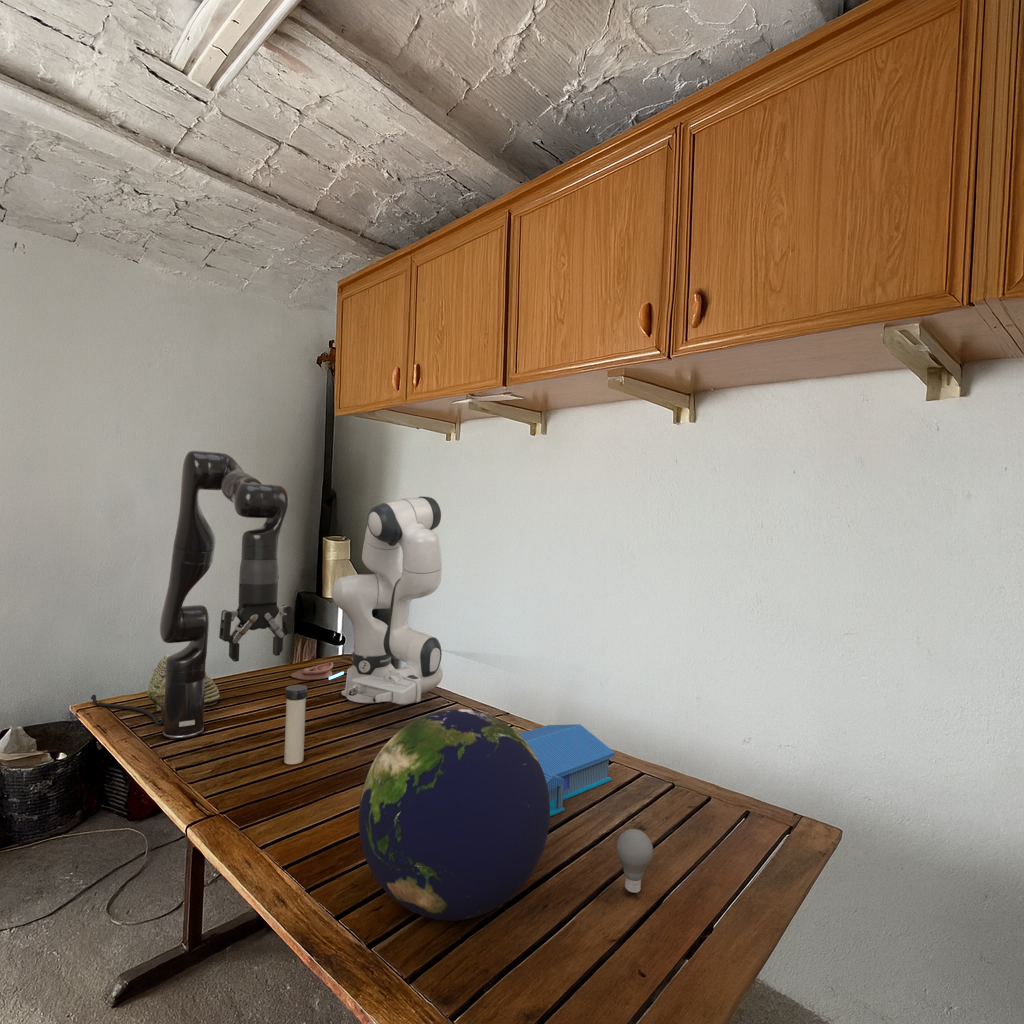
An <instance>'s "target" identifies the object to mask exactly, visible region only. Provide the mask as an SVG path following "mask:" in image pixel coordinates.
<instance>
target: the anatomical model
mask: <svg viewBox="0 0 1024 1024" xmlns="http://www.w3.org/2000/svg"><path fill="white" fill-rule="evenodd" d="M333 667H334V662H331V661H329V662H326V663H321V664H317V665H313V666H311V667H305V668H302V669H300V670H297V671H295V672H292V673H291V674H290V677H291V678H294V679H298V680H304V681H307V680H310V681H311V680H321V679H323V680H324V679H327V678H328V679H329V677H331V676H333V675H334V673H333V671H332V669H333Z"/></svg>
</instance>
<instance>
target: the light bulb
mask: <svg viewBox="0 0 1024 1024" xmlns="http://www.w3.org/2000/svg"><path fill="white" fill-rule="evenodd" d="M615 849H616V854H617V857H618V859H619V861H620V863H621V865H622V867H623V873H624V874H623V875H624V876H625V878H624V888H625V890H627V891H628V892H630V893H634V894H635V893H639V892H640V891H641V889H642V887H641V886H642V879H643V877H644V875H645V871H646V868H647V867H648V866H649V864H650V863H651V861H652V859H653V855H654V847H653V843H652V841H651V838H649V836H648V835H647V834H646V833H645V832H643V831H642V830H641V829H636V828H629V829H627V830H625V831H623V832H622V833H621V834H620V835H619V837H618V839H617V841H616V847H615Z"/></svg>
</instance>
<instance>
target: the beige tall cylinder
mask: <svg viewBox="0 0 1024 1024" xmlns="http://www.w3.org/2000/svg"><path fill="white" fill-rule="evenodd" d="M306 706H307V697H306V698H304V699H301V700H289V699H286V698H285V721H284V722H285V724H284V725H285V726H284V727H285V728H284V750H283V751H284V753H283V763H284V764H287V765H297V764H301V763H302V762H304V760H305V737H306V736H305V735H306V712H307V711H306V709H307V707H306Z"/></svg>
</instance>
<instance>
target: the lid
mask: <svg viewBox="0 0 1024 1024" xmlns="http://www.w3.org/2000/svg"><path fill="white" fill-rule="evenodd" d="M284 693H285V695H284V696H285V700H286V699H289V700H301V699H304V698H306V699H307V697H308V686H307V685H304V684H292V685H288V686H286V687H285V691H284Z"/></svg>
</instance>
